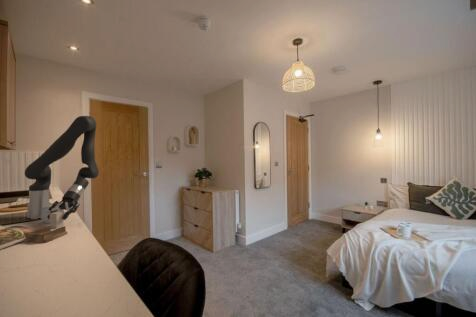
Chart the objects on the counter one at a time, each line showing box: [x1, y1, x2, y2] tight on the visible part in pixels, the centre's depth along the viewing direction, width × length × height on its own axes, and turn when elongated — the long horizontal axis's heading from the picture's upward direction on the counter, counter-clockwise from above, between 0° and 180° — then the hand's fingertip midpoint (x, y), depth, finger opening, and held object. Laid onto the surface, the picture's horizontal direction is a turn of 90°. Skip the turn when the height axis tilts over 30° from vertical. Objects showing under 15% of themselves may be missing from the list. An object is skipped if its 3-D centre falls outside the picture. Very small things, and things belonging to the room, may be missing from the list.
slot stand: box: [23, 225, 68, 244], centre depth 103 cm, size 11×11×4 cm
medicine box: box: [41, 205, 61, 224], centre depth 126 cm, size 8×4×9 cm, turn 84°
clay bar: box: [49, 211, 64, 230], centre depth 117 cm, size 4×4×8 cm
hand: (56, 218), depth 117 cm, fingers open, 8 cm apart
